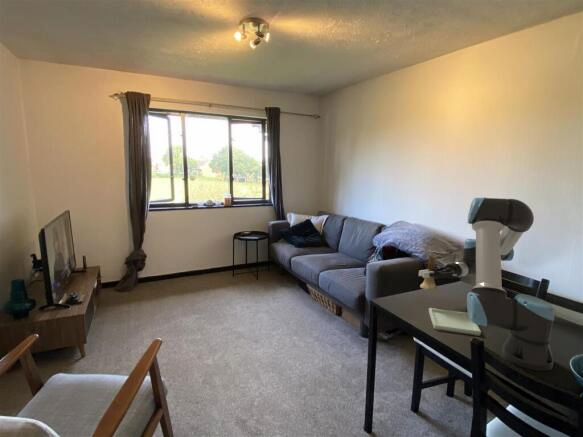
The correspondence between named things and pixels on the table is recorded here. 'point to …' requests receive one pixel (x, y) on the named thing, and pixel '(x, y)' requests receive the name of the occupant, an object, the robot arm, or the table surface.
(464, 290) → the table surface
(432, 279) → the hand bell
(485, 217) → the robot arm
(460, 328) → the tray
